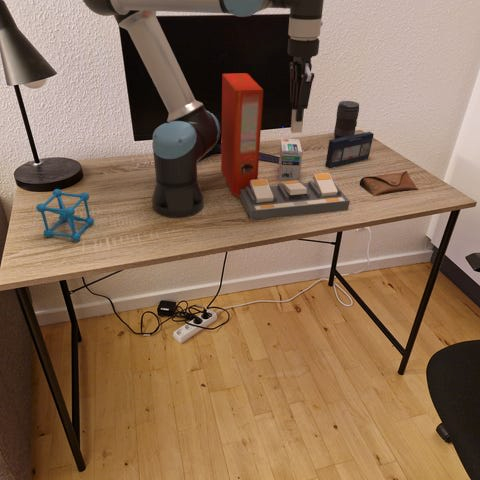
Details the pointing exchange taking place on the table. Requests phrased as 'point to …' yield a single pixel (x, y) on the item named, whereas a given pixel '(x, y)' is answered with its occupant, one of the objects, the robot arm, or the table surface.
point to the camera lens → (346, 119)
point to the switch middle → (294, 187)
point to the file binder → (240, 130)
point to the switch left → (261, 190)
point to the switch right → (325, 184)
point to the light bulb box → (290, 159)
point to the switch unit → (292, 202)
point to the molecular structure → (65, 214)
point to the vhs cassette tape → (349, 149)
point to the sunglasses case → (387, 183)
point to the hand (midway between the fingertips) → (296, 131)
